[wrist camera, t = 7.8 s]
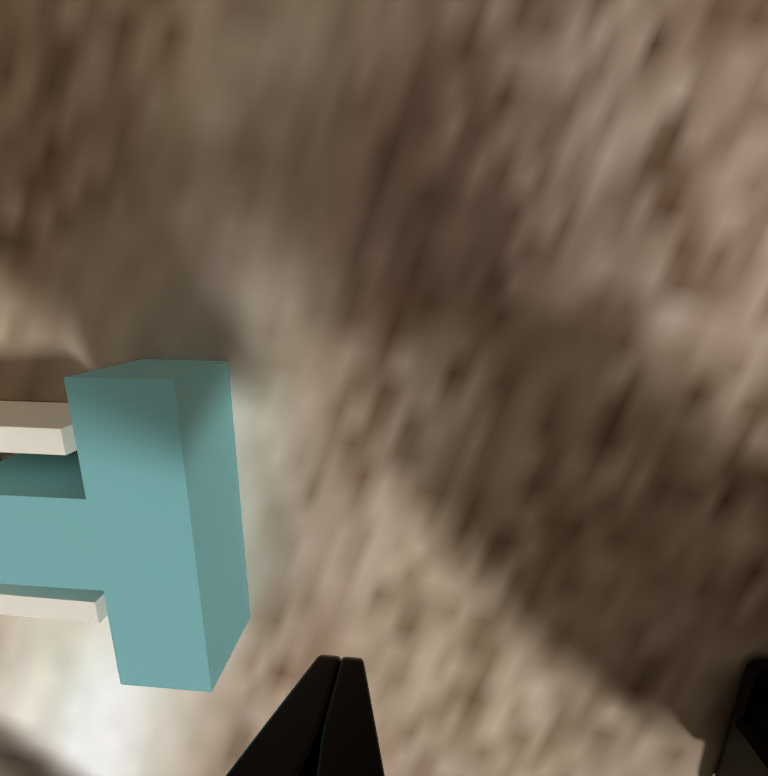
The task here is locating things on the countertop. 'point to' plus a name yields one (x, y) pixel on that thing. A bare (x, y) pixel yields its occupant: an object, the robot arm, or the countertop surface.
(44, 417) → the t dock
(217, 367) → the t block
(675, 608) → the countertop surface
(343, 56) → the countertop surface
